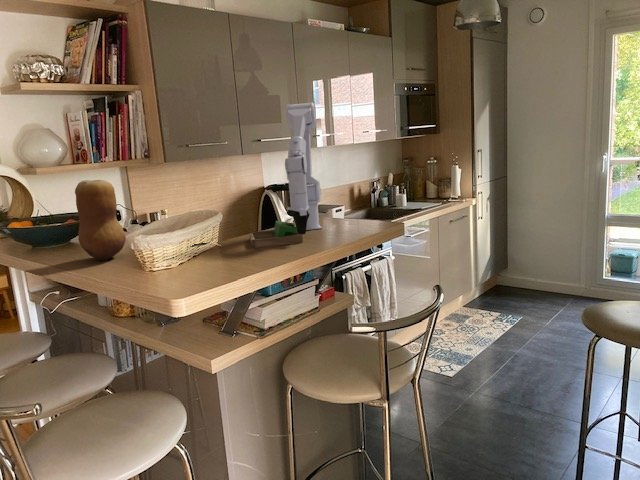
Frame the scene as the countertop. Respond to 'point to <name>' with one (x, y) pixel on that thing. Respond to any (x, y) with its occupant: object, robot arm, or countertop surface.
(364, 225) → the countertop surface
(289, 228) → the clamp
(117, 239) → the butternut squash
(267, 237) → the tray
